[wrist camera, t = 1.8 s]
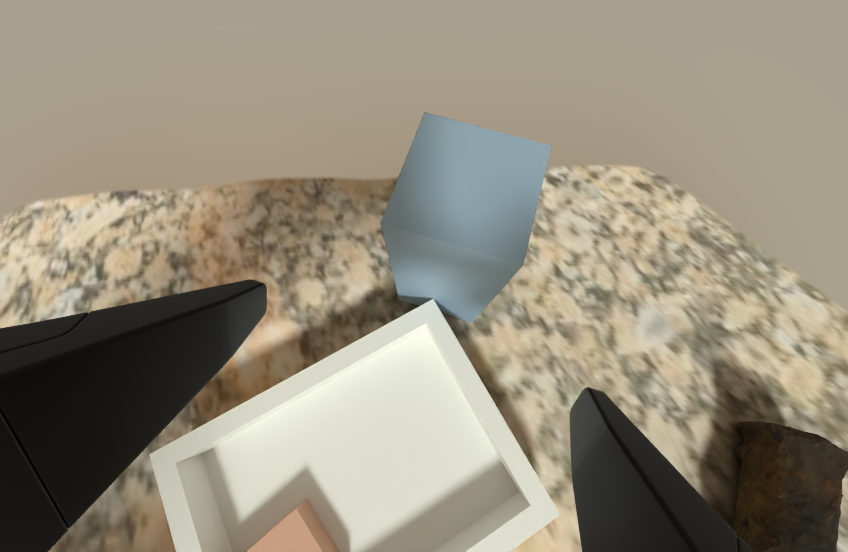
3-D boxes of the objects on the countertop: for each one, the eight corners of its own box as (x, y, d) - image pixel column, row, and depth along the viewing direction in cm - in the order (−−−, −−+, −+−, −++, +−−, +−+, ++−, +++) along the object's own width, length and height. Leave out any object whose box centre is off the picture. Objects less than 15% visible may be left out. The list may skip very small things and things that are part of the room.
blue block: (472, 322, 21) (523, 264, 11) (399, 299, 22) (380, 222, 11) (490, 254, 23) (551, 145, 12) (422, 234, 23) (424, 112, 13)
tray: (265, 685, 16) (231, 752, 13) (189, 443, 19) (149, 454, 16) (538, 494, 18) (560, 515, 15) (431, 309, 21) (433, 298, 19)
